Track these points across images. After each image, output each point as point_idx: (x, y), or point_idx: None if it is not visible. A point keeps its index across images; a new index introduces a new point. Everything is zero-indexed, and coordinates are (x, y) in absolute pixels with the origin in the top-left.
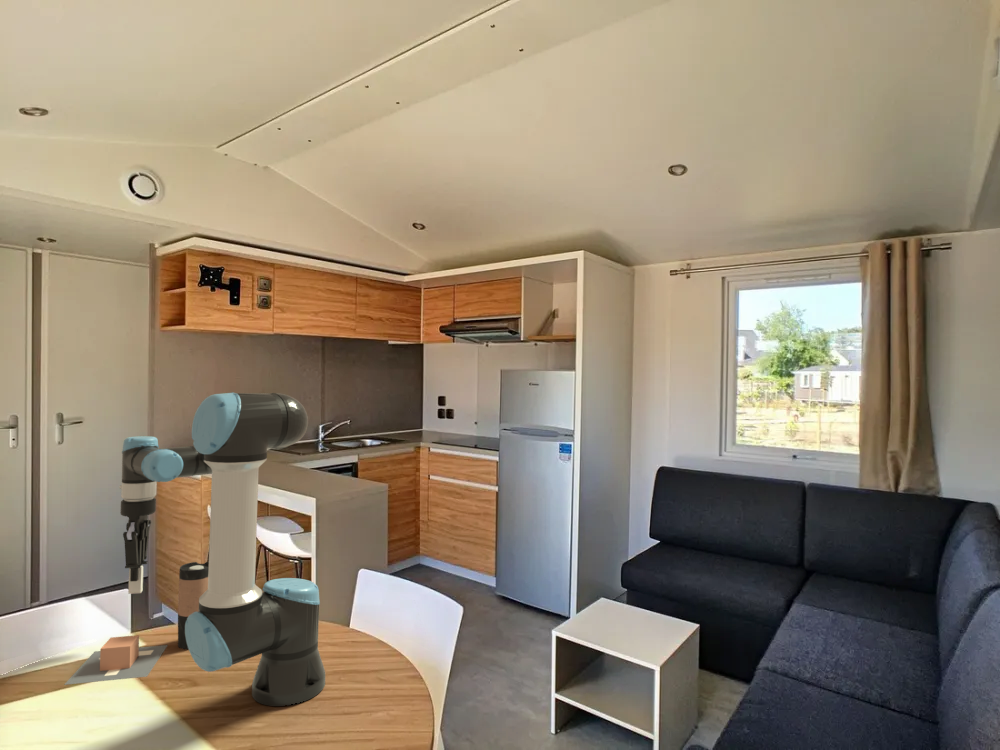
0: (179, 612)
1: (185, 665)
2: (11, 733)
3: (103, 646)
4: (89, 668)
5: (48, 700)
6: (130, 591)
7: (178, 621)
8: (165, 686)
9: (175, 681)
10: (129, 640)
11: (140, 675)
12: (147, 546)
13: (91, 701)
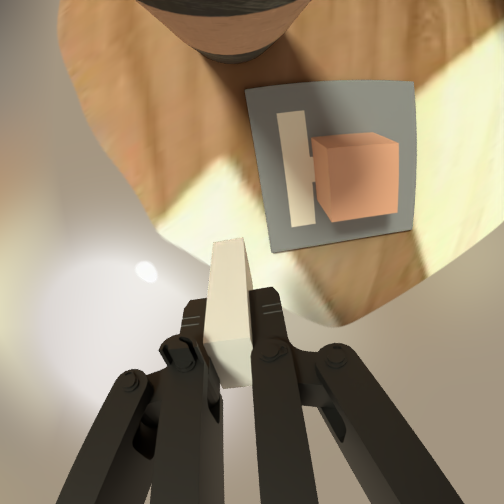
0: (281, 34)
1: (354, 15)
2: (497, 224)
3: (385, 212)
4: (357, 218)
5: (442, 226)
6: (251, 280)
7: (268, 46)
8: (437, 41)
9: (421, 25)
10: (362, 160)
11: (408, 96)
12: (86, 447)
13: (463, 156)
